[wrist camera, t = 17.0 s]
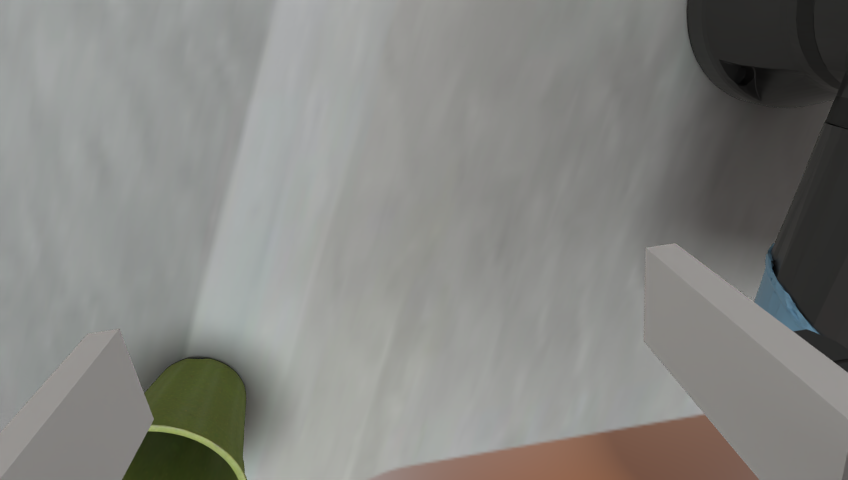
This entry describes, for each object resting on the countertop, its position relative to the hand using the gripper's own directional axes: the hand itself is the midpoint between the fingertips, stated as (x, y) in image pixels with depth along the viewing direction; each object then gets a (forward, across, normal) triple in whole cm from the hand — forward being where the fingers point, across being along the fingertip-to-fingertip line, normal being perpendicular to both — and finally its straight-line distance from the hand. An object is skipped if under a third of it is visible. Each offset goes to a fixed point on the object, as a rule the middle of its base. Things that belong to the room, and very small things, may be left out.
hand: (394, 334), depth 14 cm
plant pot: (+29, -18, -20) cm, 39 cm away
